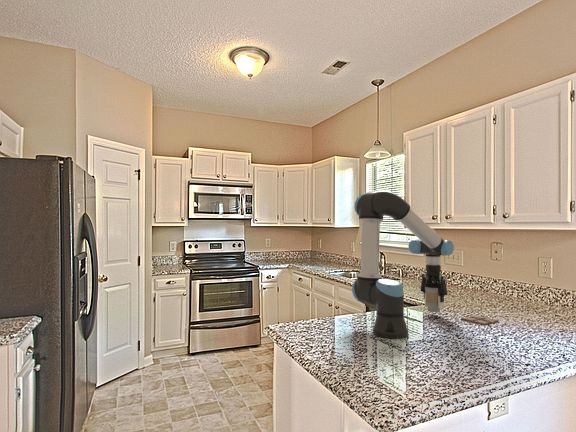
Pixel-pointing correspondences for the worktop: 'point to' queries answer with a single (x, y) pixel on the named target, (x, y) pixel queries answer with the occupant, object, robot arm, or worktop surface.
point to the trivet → (480, 320)
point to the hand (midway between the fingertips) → (433, 306)
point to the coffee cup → (432, 296)
